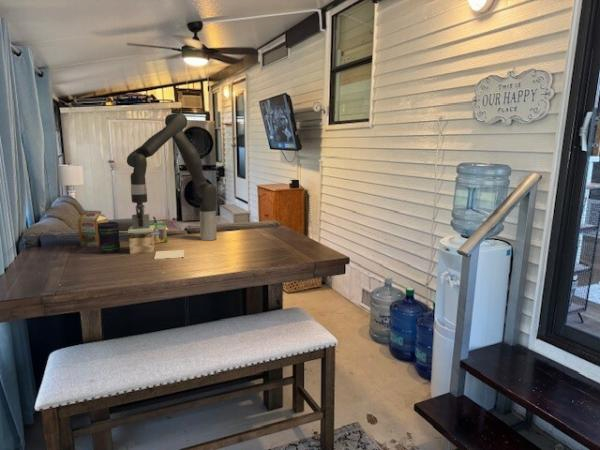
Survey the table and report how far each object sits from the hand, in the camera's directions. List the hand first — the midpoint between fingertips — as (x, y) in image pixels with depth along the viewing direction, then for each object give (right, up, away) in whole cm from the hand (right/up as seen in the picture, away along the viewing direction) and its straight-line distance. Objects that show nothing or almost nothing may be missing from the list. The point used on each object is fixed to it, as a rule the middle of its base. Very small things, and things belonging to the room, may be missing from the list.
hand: (141, 225), depth 208 cm
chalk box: (0, -9, +24) cm, 25 cm away
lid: (0, -2, 0) cm, 2 cm away
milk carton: (-32, -11, +16) cm, 37 cm away
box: (0, -13, +3) cm, 13 cm away
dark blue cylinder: (-16, -14, 0) cm, 21 cm away
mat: (+16, -15, -5) cm, 22 cm away
